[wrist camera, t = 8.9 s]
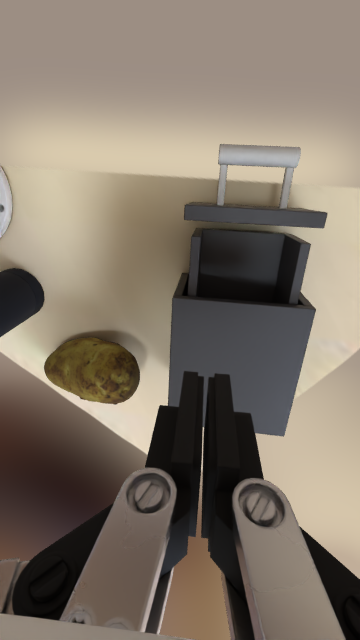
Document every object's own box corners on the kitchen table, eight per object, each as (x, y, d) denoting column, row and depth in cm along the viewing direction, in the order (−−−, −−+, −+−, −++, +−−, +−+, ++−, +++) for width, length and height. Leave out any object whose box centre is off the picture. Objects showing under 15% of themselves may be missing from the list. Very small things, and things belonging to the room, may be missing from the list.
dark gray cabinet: (182, 272, 35) (172, 297, 26) (291, 280, 34) (316, 309, 25) (176, 376, 41) (167, 423, 32) (269, 385, 40) (284, 436, 31)
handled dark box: (194, 150, 29) (188, 137, 22) (313, 155, 28) (344, 143, 21) (183, 320, 36) (177, 348, 30) (278, 328, 35) (293, 359, 29)
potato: (57, 315, 39) (21, 343, 31) (152, 338, 39) (138, 372, 31) (55, 366, 42) (21, 403, 35) (142, 388, 42) (126, 429, 35)
